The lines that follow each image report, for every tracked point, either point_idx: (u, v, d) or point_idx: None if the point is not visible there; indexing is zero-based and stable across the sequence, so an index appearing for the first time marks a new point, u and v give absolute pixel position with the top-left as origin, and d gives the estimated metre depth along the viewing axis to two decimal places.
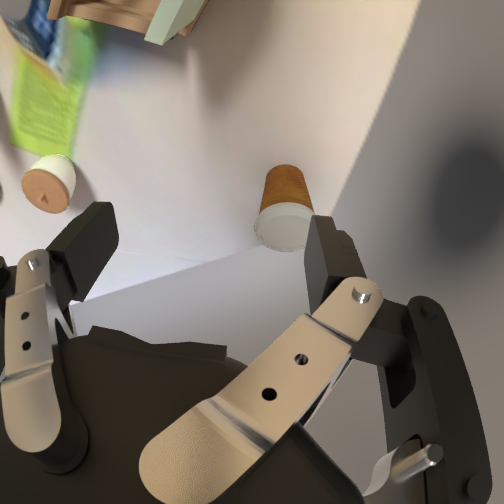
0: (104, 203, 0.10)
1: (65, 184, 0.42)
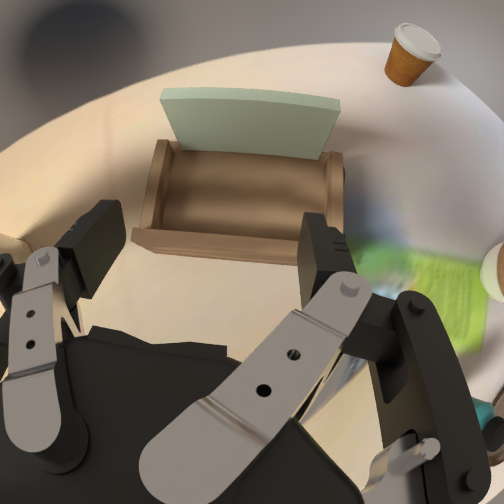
0: (112, 201, 0.11)
1: (502, 244, 0.34)
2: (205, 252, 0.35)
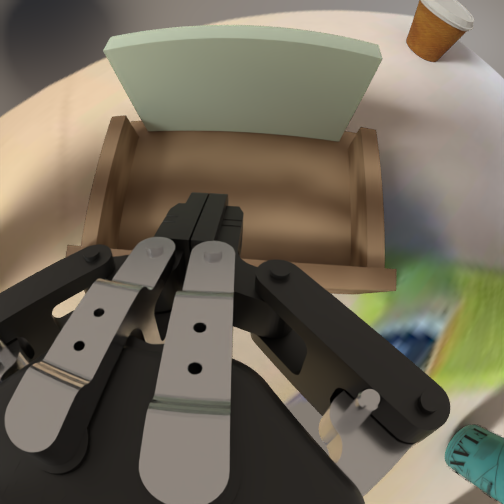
0: (206, 194, 0.11)
1: None
2: None
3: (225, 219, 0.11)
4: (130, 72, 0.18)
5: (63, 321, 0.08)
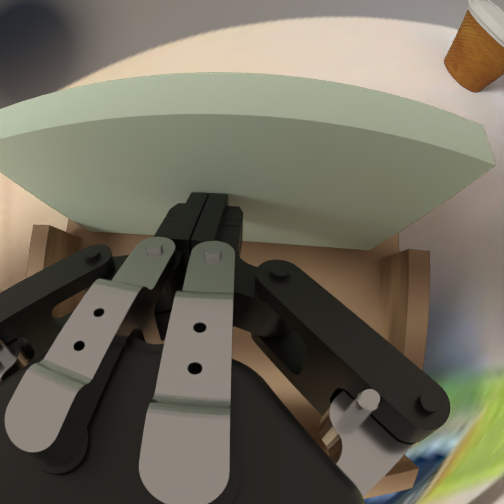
0: (205, 194, 0.11)
1: None
2: None
3: (225, 219, 0.11)
4: (22, 174, 0.10)
5: (63, 321, 0.08)
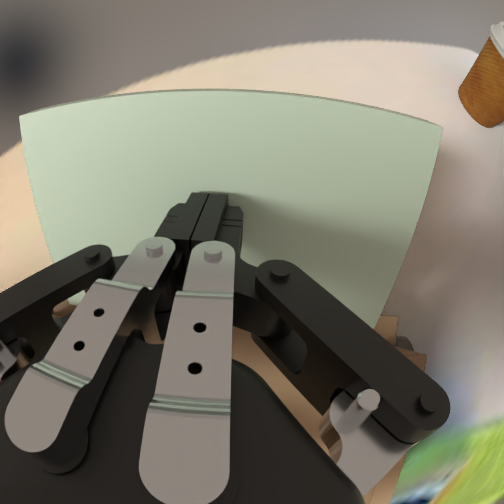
0: (206, 194, 0.11)
1: None
2: None
3: (225, 219, 0.11)
4: (43, 168, 0.11)
5: (63, 321, 0.08)
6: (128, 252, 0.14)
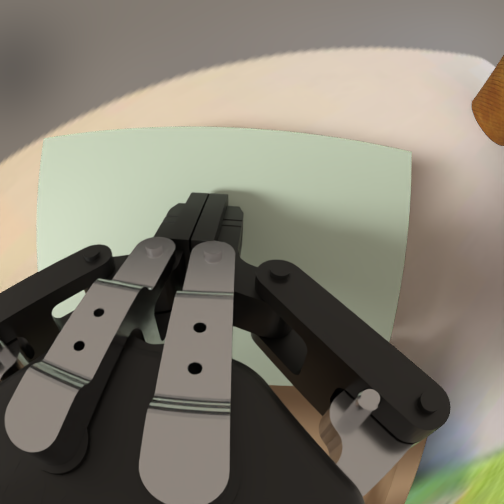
0: (206, 194, 0.11)
1: None
2: None
3: (225, 219, 0.11)
4: (53, 189, 0.12)
5: (63, 321, 0.08)
6: None
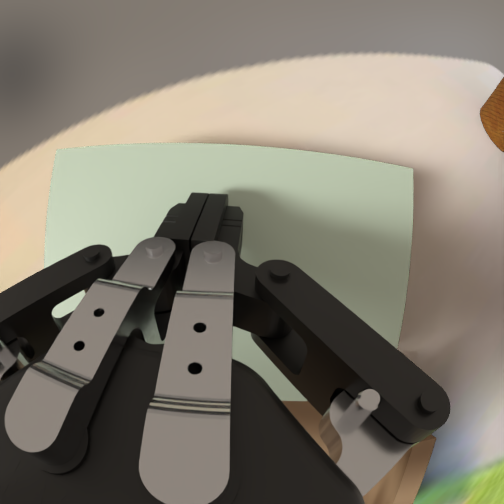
0: (206, 194, 0.11)
1: None
2: None
3: (225, 219, 0.11)
4: (64, 200, 0.13)
5: (63, 321, 0.08)
6: None
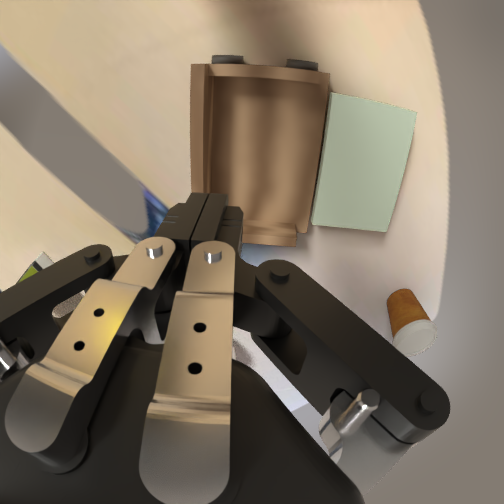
0: (206, 194, 0.11)
1: None
2: None
3: (225, 219, 0.11)
4: (397, 116, 0.32)
5: (63, 321, 0.08)
6: (360, 139, 0.35)
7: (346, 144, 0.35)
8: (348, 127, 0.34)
